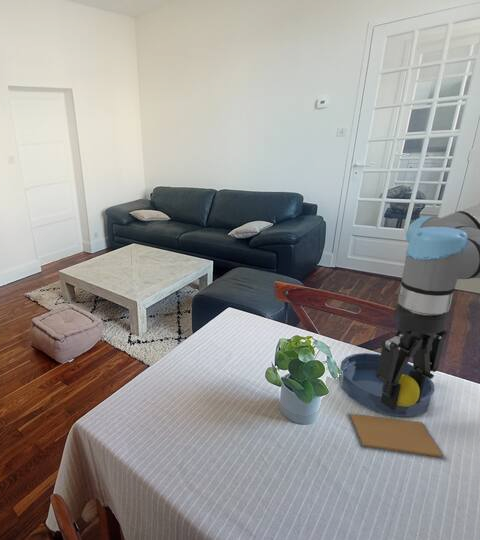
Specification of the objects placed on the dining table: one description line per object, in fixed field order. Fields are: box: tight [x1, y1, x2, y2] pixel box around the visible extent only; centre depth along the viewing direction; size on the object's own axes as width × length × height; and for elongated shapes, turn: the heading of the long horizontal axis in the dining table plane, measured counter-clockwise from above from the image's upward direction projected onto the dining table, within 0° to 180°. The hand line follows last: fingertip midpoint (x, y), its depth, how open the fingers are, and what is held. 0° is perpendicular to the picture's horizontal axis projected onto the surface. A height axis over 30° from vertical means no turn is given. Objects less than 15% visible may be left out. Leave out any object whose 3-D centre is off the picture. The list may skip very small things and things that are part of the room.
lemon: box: [397, 374, 420, 407], centre depth 72 cm, size 6×6×8 cm
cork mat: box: [350, 413, 443, 458], centre depth 76 cm, size 14×9×1 cm, turn 73°
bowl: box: [338, 352, 436, 418], centre depth 88 cm, size 19×19×5 cm
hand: (399, 401), depth 73 cm, fingers closed on lemon, 5 cm apart
